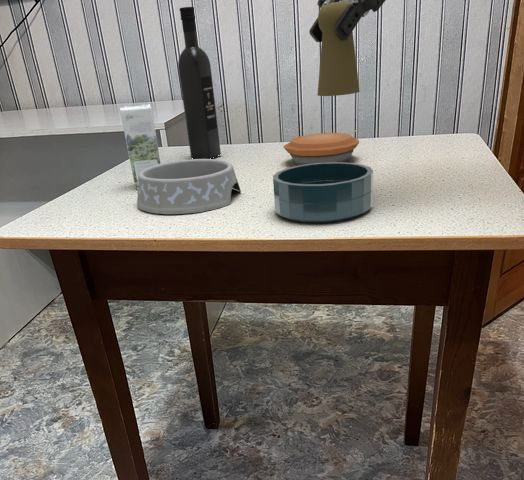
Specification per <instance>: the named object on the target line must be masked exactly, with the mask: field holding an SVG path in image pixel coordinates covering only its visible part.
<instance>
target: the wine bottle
mask: <svg viewBox="0 0 524 480" xmlns="http://www.w3.org/2000/svg"><path fill="white" fill-rule="evenodd" d="M179 14H180V21H181V27H182V32H183V39H184V40H183V41H184V49H183V50H182V51H181V53H180V54H179V57H178V61H177V62H178V63H177V69H178V76H179V83H180V89H181V97H182V104H183V105H182V106H183V111H184V117H185V124H186V132H187V138H188V146H189V153H190V158H191V159H192V158H193V159H210V158H213V157H216V156H218V155H220V154H221V155H222V152H221V142H220V136H219V135H220V134H219V126H218V117H217V108H216V100H215V93H214V84H213V83H214V82H213V74H212V67H211V61H210V59H209V56H208V54H207V53H206V52H205V51H204V50H203V49H202V48H201V47H200V46H199V42H198V35H197V26H196V14H195V7H194V6H183V7H180V8H179ZM221 155H220V156H221ZM220 156H218V157H216V158H219V157H220ZM213 159H214V158H213Z"/></svg>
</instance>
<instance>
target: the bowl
mask: <svg viewBox="0 0 524 480" xmlns="http://www.w3.org/2000/svg"><path fill="white" fill-rule="evenodd" d="M272 183H273V197H274V198H273V199H274V211H275V213H276V214H277V215H278V216H280V217H282V218H283V217H284V218H286V219H287V220H290V221H294V222H299V223H310V224H324V223H325V224H326V223H334V222H335V223H336V222H341V221H346V220H350V219H353V218H356V217H358V216H360V215H362V214H364V213H366V212H367V211H369V210H370V209H371V208H372V206H373V204H374V203H373V201H374V169H372V167H371V166H368V165H365V164H362V163H354V162H326V163H325V162H324V163H312V164H305V165H294V166H291V167H287V168H284V169H282V170H279V171H277V172H276V173H275V174H273V175H272Z"/></svg>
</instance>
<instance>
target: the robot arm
mask: <svg viewBox="0 0 524 480" xmlns="http://www.w3.org/2000/svg"><path fill="white" fill-rule="evenodd" d="M386 1H387V0H318V1H317V3H316V4H317V6H318V7H319V8H321V7H322V6H324V5H326V4H329V3H333V2H349V3H352V4H353V5H352V4H351V5H348V6H347V8H346V9H345V11H344V12H343V14H342V16H341V17H340V19H339V20H338V22H337V23H336V25H335V26H334V33H335V34H336V35H337V37H338V38H339V39H340V40H341V41H345V40H347V39H348V37H349V36H350V34H351V33H352V31H354V30H355V28H356V27H357V25H358V24H359V22H360V20H361V19H362V18H365V17H366V16H367V15H368V14H369V13H370V12H371V11H372V13H376V12H378V10H379V9H380V8H381V7H382V6H383V5H384V3H385V2H386ZM308 33H309V36H310V37H311V38H312V39H313V40H314V41H315V43H322V31H321V29H320V28H319V24H318V17H317V18H316V19H315V21H314V22H313V23H312V26H311V27H310V29H309V32H308Z"/></svg>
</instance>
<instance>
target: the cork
mask: <svg viewBox="0 0 524 480" xmlns="http://www.w3.org/2000/svg"><path fill="white" fill-rule="evenodd" d="M351 4H352V3H349V2H341V1H340V2H333V3H329V4H326V5H324V6H322V7H321V8H320V7H319V8H320V9H319V11H318V15H317V18H318V24H319V28H320V29H321V31H322V42H321V46H320V57H319V70H318V84H317V96H318V97H335V96H336V97H338V96H345V95H346V96H347V95H352V94H353V95H354V94H357V93H360V83H359V75H358V73H359V72H358V66H357V58H356V56H357V55H356V50H355V41H354V32H353V31H354V30H353V31H352V33H351V34H350V36H349V37H348V39H347V40H345V41H341V40H340V39H339V38H338V37H337V35H336V34H335V33H334V26H335V25H336V23H337V22H338V20H339V19H340V17H341V16H342V14H343V12H344V11H345V9H346V8H347V6H348V5H351ZM352 5H353V4H352Z"/></svg>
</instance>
